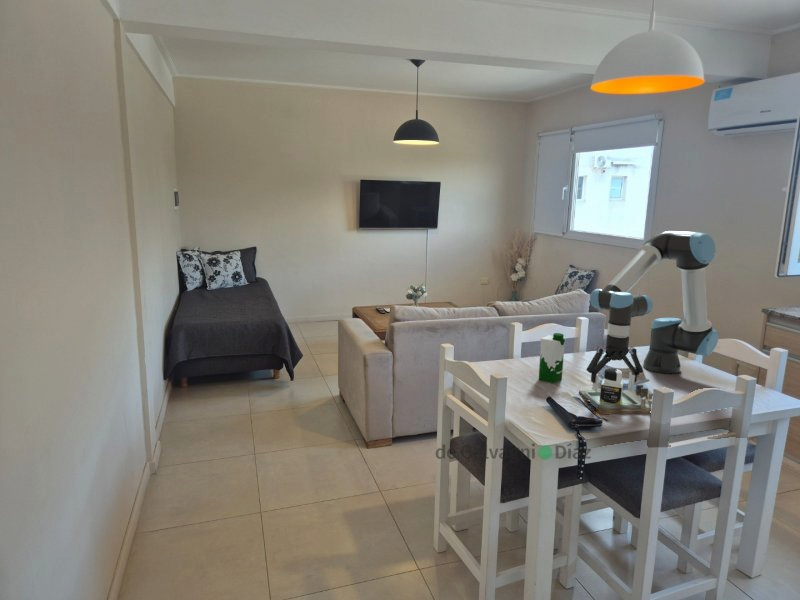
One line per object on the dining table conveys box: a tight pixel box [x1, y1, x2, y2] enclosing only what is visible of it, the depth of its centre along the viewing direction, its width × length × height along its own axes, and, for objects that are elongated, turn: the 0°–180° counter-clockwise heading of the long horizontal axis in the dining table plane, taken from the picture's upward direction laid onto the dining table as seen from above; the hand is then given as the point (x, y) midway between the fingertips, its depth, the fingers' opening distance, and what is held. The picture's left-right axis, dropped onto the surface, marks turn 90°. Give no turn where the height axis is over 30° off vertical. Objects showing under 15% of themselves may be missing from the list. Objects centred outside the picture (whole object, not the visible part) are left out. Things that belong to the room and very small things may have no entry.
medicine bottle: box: [600, 367, 624, 404], centre depth 199 cm, size 7×7×12 cm
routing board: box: [578, 384, 654, 415], centre depth 202 cm, size 28×20×4 cm
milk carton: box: [538, 332, 567, 384], centre depth 224 cm, size 9×9×20 cm
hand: (612, 390), depth 200 cm, fingers open, 13 cm apart
